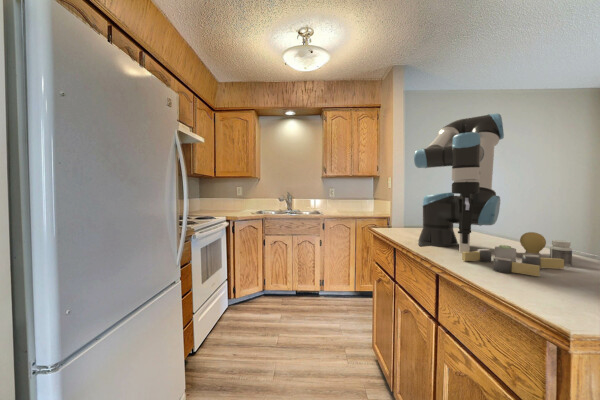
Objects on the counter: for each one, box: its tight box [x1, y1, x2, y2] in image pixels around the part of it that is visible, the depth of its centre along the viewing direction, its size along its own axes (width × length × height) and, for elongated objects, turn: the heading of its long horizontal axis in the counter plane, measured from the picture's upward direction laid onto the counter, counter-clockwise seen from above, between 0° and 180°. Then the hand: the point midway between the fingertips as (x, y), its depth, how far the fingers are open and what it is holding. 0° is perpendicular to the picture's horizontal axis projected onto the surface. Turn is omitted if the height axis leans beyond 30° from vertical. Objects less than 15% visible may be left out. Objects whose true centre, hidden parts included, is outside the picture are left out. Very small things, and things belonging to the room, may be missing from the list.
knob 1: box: [461, 248, 493, 263], centre depth 80 cm, size 10×4×4 cm, turn 99°
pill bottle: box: [549, 239, 573, 267], centre depth 76 cm, size 5×5×8 cm
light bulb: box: [519, 231, 547, 258], centre depth 83 cm, size 6×6×10 cm
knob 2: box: [493, 256, 541, 277], centre depth 68 cm, size 10×4×4 cm, turn 46°
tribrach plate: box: [494, 244, 517, 262], centre depth 74 cm, size 18×18×7 cm
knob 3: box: [521, 254, 565, 270], centre depth 72 cm, size 10×4×4 cm, turn 75°
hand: (464, 252), depth 82 cm, fingers closed
